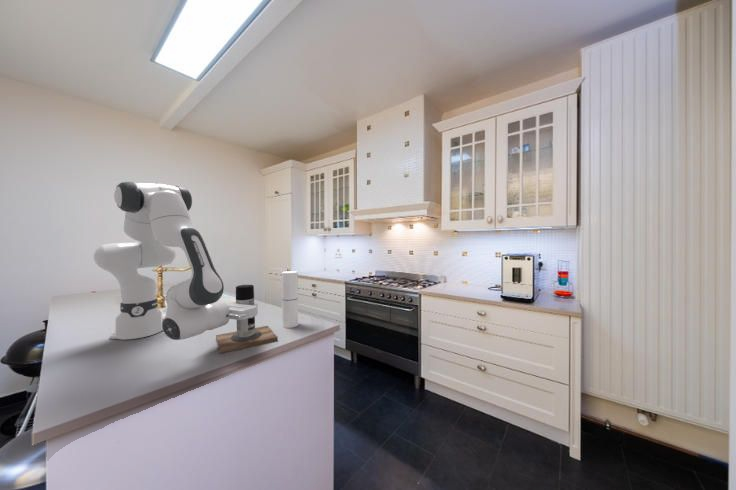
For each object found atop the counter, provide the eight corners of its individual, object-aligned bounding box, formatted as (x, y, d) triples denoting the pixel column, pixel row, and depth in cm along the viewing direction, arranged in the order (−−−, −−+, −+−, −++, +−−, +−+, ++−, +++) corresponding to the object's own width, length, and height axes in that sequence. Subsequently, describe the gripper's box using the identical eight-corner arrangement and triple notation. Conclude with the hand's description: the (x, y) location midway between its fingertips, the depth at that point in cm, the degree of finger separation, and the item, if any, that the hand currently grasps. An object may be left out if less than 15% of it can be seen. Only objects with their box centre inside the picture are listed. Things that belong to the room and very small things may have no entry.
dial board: (216, 338, 105) (216, 334, 105) (267, 328, 116) (267, 324, 116) (220, 353, 92) (220, 348, 92) (277, 340, 103) (277, 336, 103)
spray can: (250, 338, 100) (249, 287, 100) (233, 338, 101) (232, 287, 100) (257, 332, 107) (257, 284, 107) (241, 332, 107) (240, 284, 107)
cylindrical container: (279, 327, 118) (278, 272, 117) (286, 322, 125) (286, 270, 124) (294, 328, 117) (293, 273, 116) (300, 323, 124) (300, 271, 123)
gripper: (239, 308, 88) (268, 299, 101) (196, 303, 95) (228, 295, 108) (239, 326, 88) (268, 315, 101) (197, 320, 95) (229, 310, 108)
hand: (247, 304), depth 104 cm, fingers open, 7 cm apart
